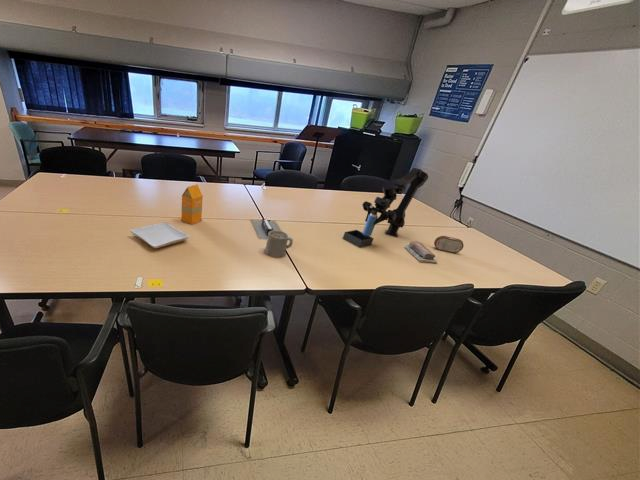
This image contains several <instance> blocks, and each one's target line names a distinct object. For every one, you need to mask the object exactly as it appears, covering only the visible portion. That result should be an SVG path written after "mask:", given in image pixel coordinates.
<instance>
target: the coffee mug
mask: <svg viewBox="0 0 640 480" xmlns="http://www.w3.org/2000/svg"><path fill="white" fill-rule="evenodd" d="M288 242H289V243H288ZM293 242H294V239H293V238H292V237H290V236H289V234H288V233H287V232H285V231H282V230H280V231H278V230H272V231H270V232H269V233H268V238H266V245H265V250H264V252H265V254H266V255H267V256H269V257H273V258H283V257H285V254H286V251H287V249H289V248H291V247H292V245H293Z"/></svg>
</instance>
